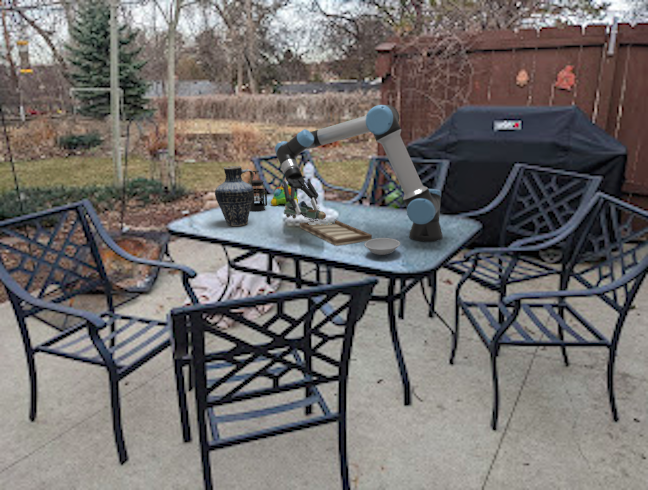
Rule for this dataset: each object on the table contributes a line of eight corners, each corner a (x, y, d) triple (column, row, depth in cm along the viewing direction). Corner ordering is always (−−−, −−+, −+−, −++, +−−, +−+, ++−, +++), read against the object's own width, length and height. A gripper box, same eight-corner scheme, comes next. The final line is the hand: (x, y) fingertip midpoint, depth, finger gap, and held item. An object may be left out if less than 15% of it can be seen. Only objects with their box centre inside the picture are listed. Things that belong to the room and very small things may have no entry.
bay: (371, 240, 230) (371, 234, 229) (336, 245, 221) (336, 240, 220) (332, 223, 261) (332, 218, 260) (299, 227, 252) (299, 222, 252)
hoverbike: (293, 213, 235) (292, 196, 232) (332, 221, 218) (332, 203, 216) (278, 217, 228) (277, 199, 225) (318, 225, 212) (317, 206, 209)
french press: (245, 210, 291) (243, 171, 284) (253, 207, 299) (251, 169, 292) (262, 212, 286) (261, 172, 279) (270, 209, 294) (269, 170, 288)
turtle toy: (299, 199, 322) (299, 181, 319) (298, 207, 300) (298, 188, 296) (273, 199, 322) (272, 181, 318) (270, 207, 299) (269, 188, 296)
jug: (228, 231, 246) (225, 170, 238) (210, 224, 261) (206, 166, 252) (264, 224, 259) (261, 166, 250) (244, 218, 273) (241, 163, 265)
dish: (390, 263, 198) (390, 251, 196) (357, 258, 204) (357, 246, 203) (405, 251, 213) (406, 240, 211) (374, 247, 219) (374, 236, 218)
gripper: (309, 174, 236) (326, 214, 227) (268, 178, 227) (284, 219, 218) (314, 164, 230) (331, 204, 221) (272, 168, 221) (288, 210, 212)
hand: (308, 212), depth 219 cm, fingers closed on hoverbike, 8 cm apart
